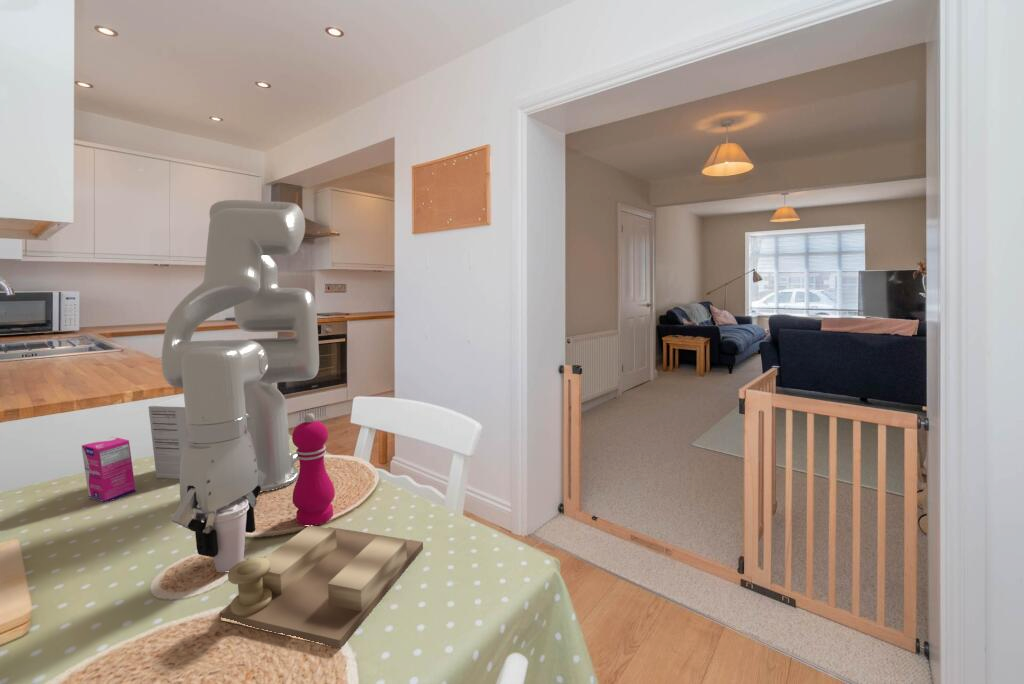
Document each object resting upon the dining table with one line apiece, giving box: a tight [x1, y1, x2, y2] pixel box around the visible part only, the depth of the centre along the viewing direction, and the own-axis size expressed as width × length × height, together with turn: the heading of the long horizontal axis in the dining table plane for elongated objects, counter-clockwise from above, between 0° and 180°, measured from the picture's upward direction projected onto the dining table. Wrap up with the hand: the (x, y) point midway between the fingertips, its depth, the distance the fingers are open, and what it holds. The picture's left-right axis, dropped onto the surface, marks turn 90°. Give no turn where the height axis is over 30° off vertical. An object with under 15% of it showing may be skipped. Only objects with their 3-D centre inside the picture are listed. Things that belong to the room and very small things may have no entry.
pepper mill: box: [291, 413, 336, 526], centre depth 86 cm, size 7×7×20 cm
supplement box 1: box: [81, 436, 136, 503], centre depth 96 cm, size 6×6×12 cm
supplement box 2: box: [147, 395, 189, 480], centre depth 108 cm, size 10×9×17 cm
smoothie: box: [201, 498, 249, 573], centre depth 72 cm, size 6×6×14 cm
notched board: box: [219, 525, 424, 650], centre depth 68 cm, size 22×18×6 cm
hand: (227, 541), depth 72 cm, fingers closed on smoothie, 6 cm apart
